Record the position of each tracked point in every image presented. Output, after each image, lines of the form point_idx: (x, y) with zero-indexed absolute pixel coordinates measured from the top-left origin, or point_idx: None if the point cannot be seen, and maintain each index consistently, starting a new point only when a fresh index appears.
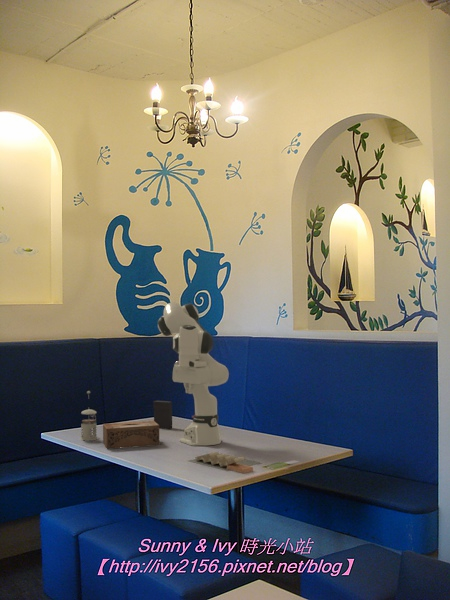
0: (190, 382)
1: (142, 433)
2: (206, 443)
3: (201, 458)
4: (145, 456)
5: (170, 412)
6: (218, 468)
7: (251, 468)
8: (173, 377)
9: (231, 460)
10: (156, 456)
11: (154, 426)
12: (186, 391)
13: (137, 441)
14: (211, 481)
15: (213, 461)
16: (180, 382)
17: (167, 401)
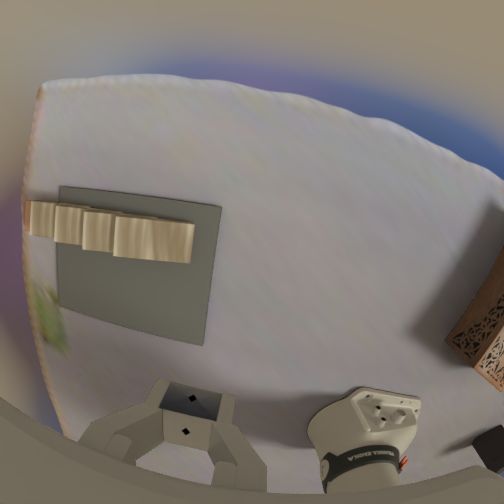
0: (37, 433)
1: (492, 314)
2: (327, 411)
3: (162, 219)
4: (399, 205)
5: (486, 460)
6: (88, 193)
7: (26, 225)
8: (499, 499)
9: (42, 201)
10: (372, 224)
11: (481, 354)
12: (217, 403)
13: (487, 294)
14: (58, 113)
15: (110, 211)
16: (342, 493)
17: (501, 471)
